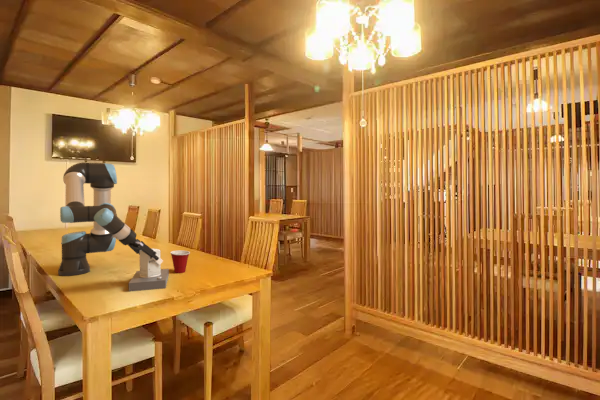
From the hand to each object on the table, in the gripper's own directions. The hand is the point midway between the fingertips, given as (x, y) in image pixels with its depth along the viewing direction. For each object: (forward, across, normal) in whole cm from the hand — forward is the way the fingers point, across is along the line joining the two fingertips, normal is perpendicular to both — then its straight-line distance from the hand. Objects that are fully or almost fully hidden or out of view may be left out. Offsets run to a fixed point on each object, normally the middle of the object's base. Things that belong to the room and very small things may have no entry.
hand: (156, 261), depth 168 cm
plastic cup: (+21, -7, +6) cm, 23 cm away
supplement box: (+2, 0, -7) cm, 7 cm away
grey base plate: (+5, 0, -10) cm, 11 cm away
